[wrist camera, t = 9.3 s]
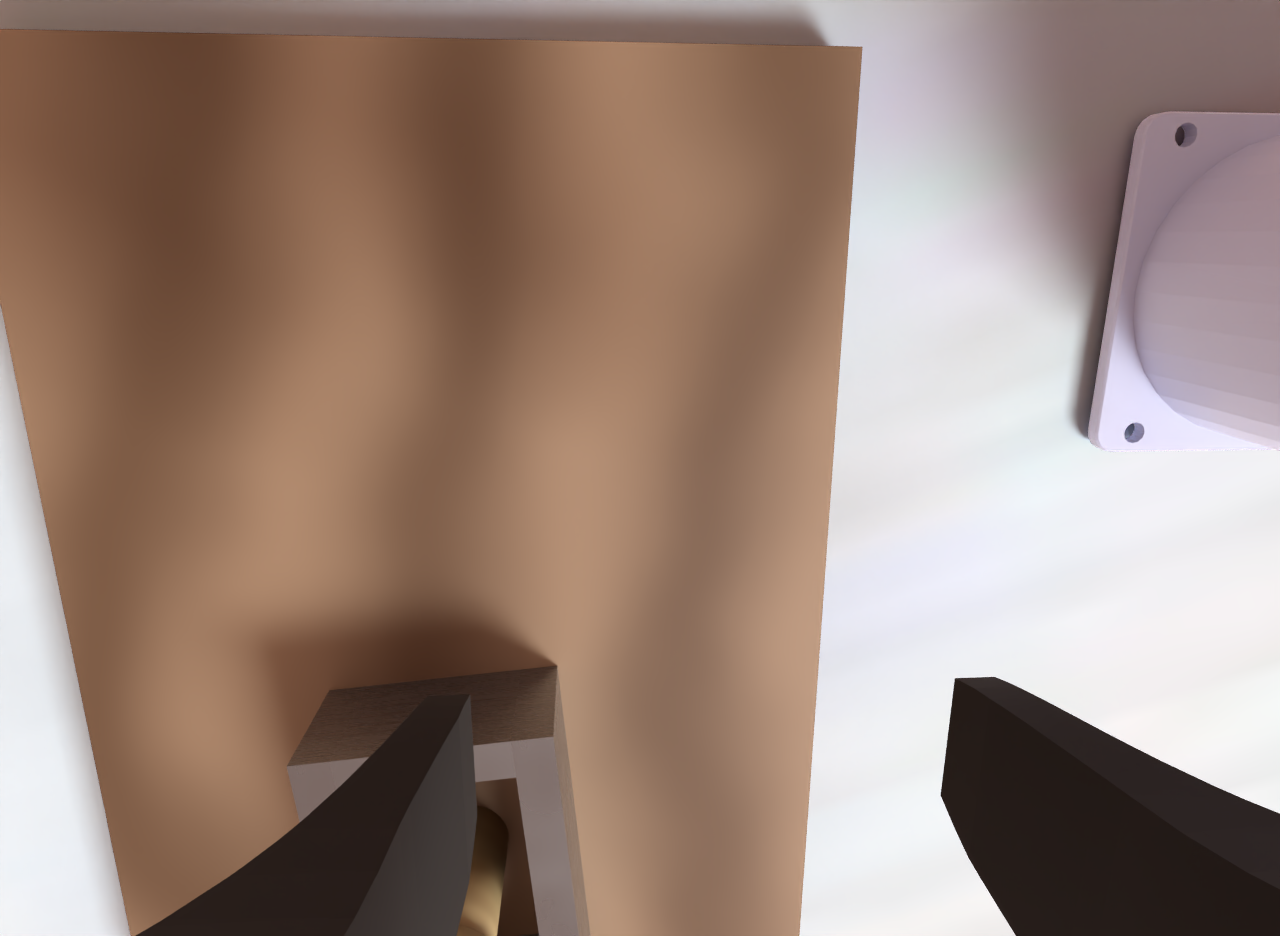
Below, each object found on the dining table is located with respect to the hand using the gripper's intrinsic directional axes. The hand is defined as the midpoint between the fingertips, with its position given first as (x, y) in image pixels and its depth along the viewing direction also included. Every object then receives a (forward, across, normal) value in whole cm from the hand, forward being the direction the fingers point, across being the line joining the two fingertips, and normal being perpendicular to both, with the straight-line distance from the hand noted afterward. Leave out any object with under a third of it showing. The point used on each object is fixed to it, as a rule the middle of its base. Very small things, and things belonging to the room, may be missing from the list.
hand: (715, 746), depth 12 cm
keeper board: (+9, +5, +1) cm, 11 cm away
